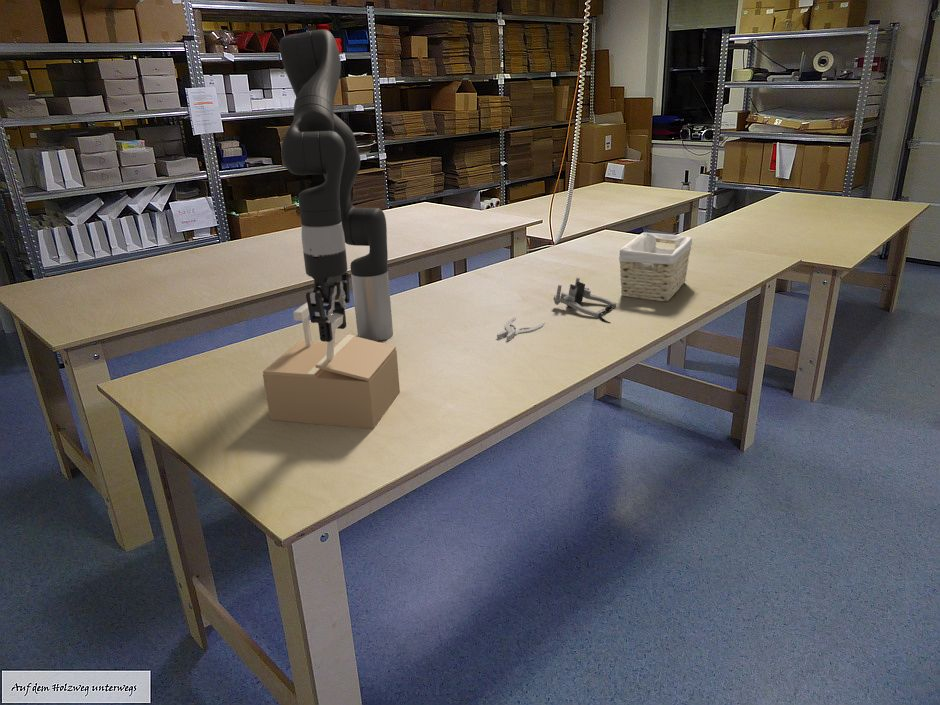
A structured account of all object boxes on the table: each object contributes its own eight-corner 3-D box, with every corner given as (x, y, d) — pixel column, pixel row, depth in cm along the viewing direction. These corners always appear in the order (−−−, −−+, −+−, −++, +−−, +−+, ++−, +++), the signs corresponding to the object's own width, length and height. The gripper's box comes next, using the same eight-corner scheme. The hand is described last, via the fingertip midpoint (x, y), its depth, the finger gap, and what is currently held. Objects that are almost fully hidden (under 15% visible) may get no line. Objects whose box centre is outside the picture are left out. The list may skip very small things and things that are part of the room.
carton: (306, 384, 148) (294, 302, 140) (400, 391, 143) (393, 306, 135) (270, 419, 133) (255, 330, 125) (373, 428, 128) (364, 336, 120)
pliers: (545, 319, 177) (519, 338, 165) (545, 325, 177) (519, 344, 166) (513, 314, 182) (485, 332, 170) (513, 319, 182) (485, 337, 171)
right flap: (347, 336, 140) (351, 296, 136) (395, 348, 138) (400, 308, 134) (315, 367, 126) (318, 323, 122) (368, 381, 124) (373, 337, 120)
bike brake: (547, 306, 188) (607, 331, 177) (551, 284, 185) (612, 308, 174) (574, 294, 198) (633, 318, 187) (578, 273, 195) (638, 296, 184)
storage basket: (669, 304, 189) (673, 254, 183) (614, 297, 196) (617, 248, 191) (689, 282, 207) (694, 235, 202) (638, 276, 215) (642, 231, 209)
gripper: (321, 237, 126) (330, 320, 133) (286, 257, 113) (298, 347, 120) (358, 239, 125) (366, 322, 131) (327, 259, 112) (337, 350, 119)
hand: (333, 334), depth 126 cm, fingers closed on right flap, 6 cm apart
